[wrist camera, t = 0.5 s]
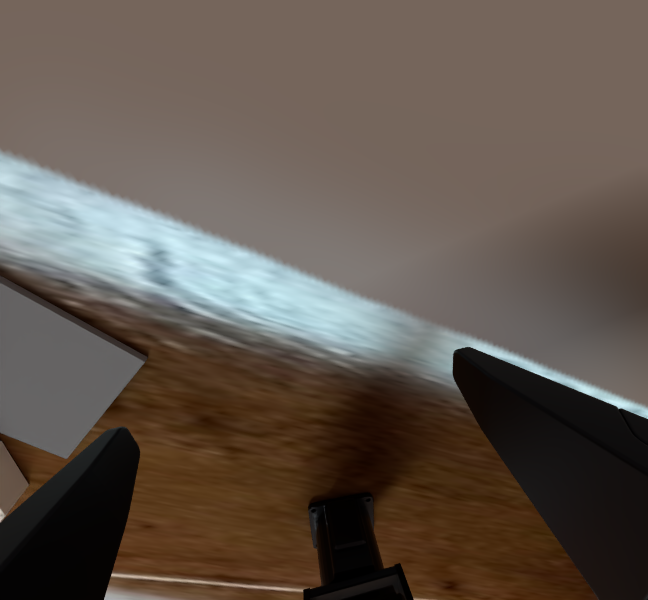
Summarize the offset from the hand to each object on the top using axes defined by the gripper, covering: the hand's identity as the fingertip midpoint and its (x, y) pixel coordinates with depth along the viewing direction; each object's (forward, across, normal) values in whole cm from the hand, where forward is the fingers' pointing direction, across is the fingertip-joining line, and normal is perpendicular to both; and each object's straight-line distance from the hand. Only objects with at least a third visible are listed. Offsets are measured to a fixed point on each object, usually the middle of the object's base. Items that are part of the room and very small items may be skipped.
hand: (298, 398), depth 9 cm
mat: (+14, +19, +5) cm, 24 cm away
